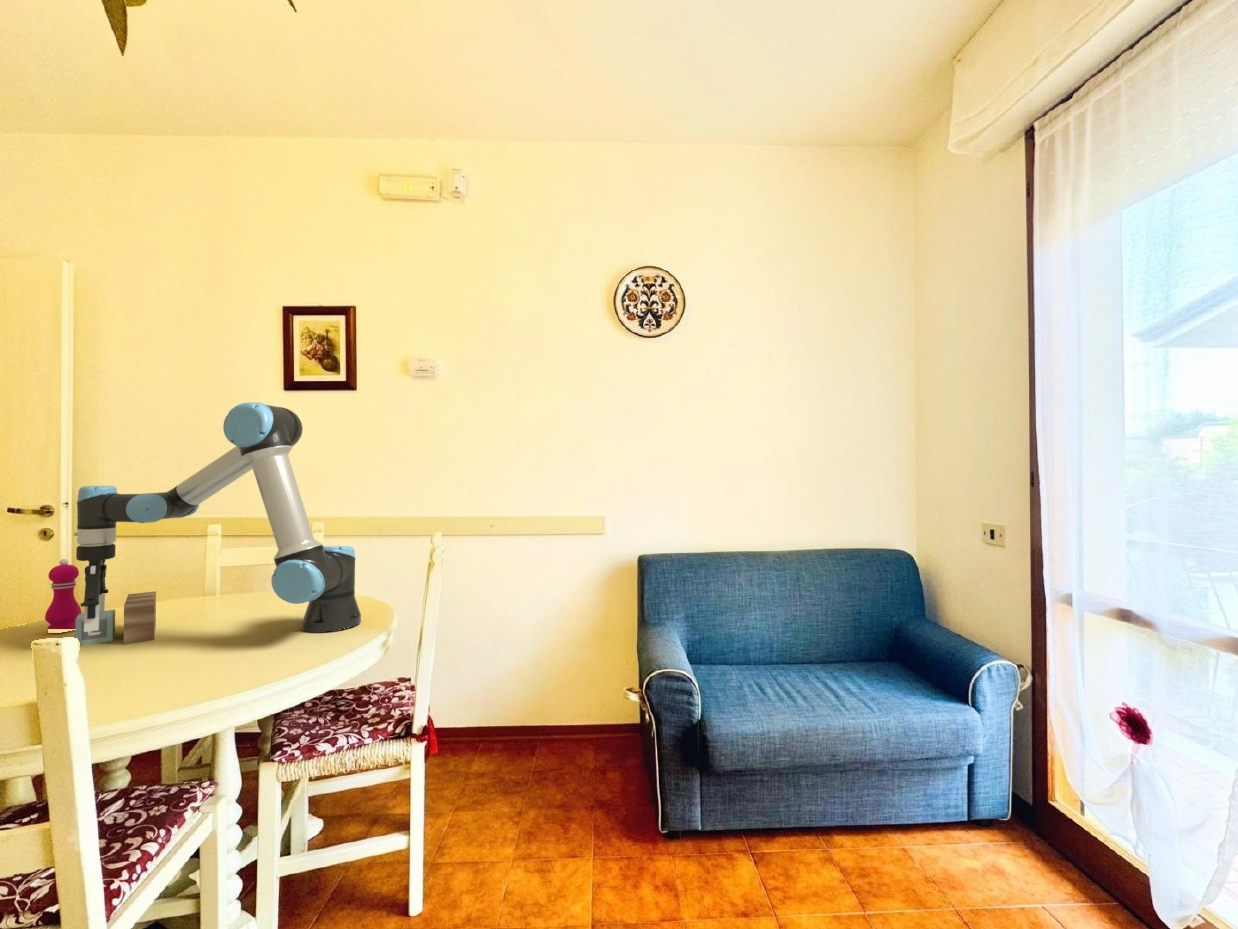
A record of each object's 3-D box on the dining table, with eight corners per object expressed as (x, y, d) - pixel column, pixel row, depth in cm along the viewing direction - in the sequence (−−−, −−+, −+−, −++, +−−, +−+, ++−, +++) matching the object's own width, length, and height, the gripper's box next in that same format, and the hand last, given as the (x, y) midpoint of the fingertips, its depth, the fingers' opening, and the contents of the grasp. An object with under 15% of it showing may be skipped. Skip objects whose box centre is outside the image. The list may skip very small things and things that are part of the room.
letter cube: (112, 641, 145) (112, 615, 145) (75, 646, 141) (75, 619, 141) (114, 635, 151) (115, 609, 151) (79, 640, 146) (79, 613, 146)
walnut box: (154, 640, 146) (154, 602, 146) (123, 644, 143) (123, 605, 143) (155, 626, 159) (156, 591, 159) (127, 630, 155) (128, 594, 155)
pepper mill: (81, 625, 159) (81, 556, 159) (81, 630, 154) (82, 559, 154) (45, 630, 154) (45, 559, 154) (44, 636, 149) (44, 562, 149)
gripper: (83, 539, 153) (81, 616, 153) (69, 551, 134) (67, 639, 134) (119, 538, 158) (117, 612, 158) (111, 549, 139) (109, 633, 138)
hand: (94, 624), depth 146 cm, fingers open, 13 cm apart
